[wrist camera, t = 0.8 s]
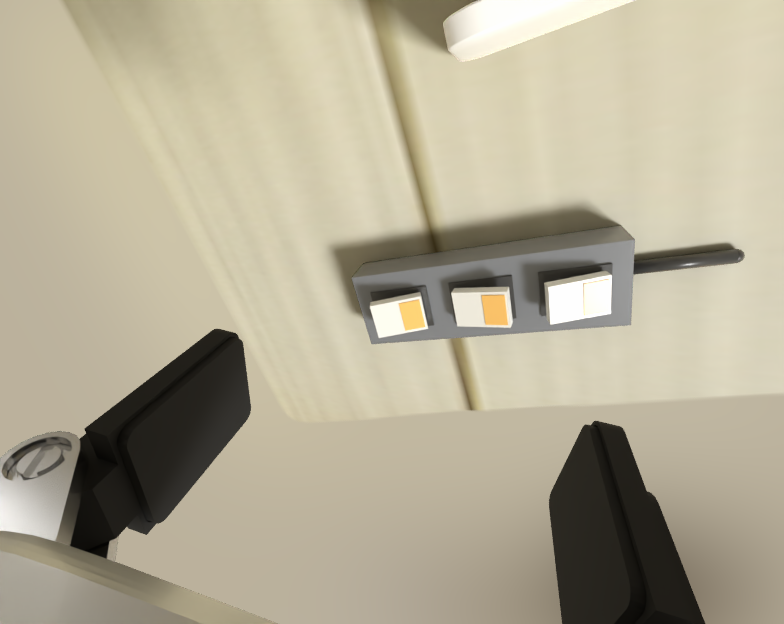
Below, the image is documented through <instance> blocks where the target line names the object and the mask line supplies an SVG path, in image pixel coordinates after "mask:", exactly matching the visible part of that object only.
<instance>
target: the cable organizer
mask: <svg viewBox="0 0 784 624" xmlns="http://www.w3.org/2000/svg"><path fill="white" fill-rule="evenodd" d="M632 1H635V0H477V1H475V2H473V3H471V4H469V5H467V6H465V7H463V8H461V9H460V10H458V11H456V12H455V13H453V14H452V15H450V16H449V17H448V18H447V19H446V20H445V21H444V22H443V28H444V33H445V38H446V43H447V48H448V51H450V52H451V53H452V54H453V55H454V56H455V57H456V58H457V59H458V60H459V61H461V62H463V61H470V60H474V59H477V58H481V57H484V56H487V55H490V54H492V53H495V52H498V51H500V50H503V49H506V48H508V47H511V46H514V45H517V44H519V43H522V42H525V41H527V40H530V39H533V38H535V37H538V36H541V35H543V34H546V33H549V32H551V31H554V30H557V29H559V28H562V27H565V26H568V25H570V24H573V23H576V22H578V21H581V20H584V19H586V18H589V17H592V16H594V15H597V14H600V13H602V12H605V11H608V10H611V9H613V8H616V7H619V6H621V5H624V4H627V3H629V2H632Z"/></svg>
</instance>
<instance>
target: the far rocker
mask: <svg viewBox="0 0 784 624" xmlns="http://www.w3.org/2000/svg"><path fill="white" fill-rule="evenodd" d="M370 309H371V313H372V316H373V320H374V323H375V326H376V330H377V333H378V337H379V338H382V337H387V336H393V335H398V334H403V333H408V332H414V331H419V330H424V329H428V324H427V320H426V315H425V311H424V306H423V302H422V297H421V293H420V292H418V293H413V294H408V295H403V296H398V297H393V298H389V299H384V300H379V301H374V302H370Z"/></svg>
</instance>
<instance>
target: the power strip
mask: <svg viewBox="0 0 784 624" xmlns="http://www.w3.org/2000/svg"><path fill="white" fill-rule="evenodd" d="M634 248H635V239H634V238H633V237H632V236H631V235H630V234H629V233H628V232H627V231H626V230H625V229H624V228H623V227H622V226H621V225H620V226H613V227H606V228H600V229H593V230H586V231H579V232H573V233H566V234H559V235H552V236H546V237H539V238H532V239H525V240H518V241H512V242H505V243H498V244H491V245H485V246H478V247H471V248H464V249H458V250H451V251H444V252H437V253H431V254H424V255H417V256H410V257H403V258H397V259H390V260H383V261H376V262H370V263H363V264H362V266H361V267H360V268H359V269H358V271H357V272H356V273H355V274H354V276H353V277H352V281H353V285H354V288H355V291H356V295H357V298H358V301H359V304H360V308H361V311H362V314H363V318H364V321H365V324H366V327H367V331H368V334H369V337H370V340H371V344H380V343H394V342H407V341H421V340H435V339H448V338H462V337H476V336H489V335H503V334H516V333H530V332H544V331H557V330H571V329H584V328H598V327H612V326H625V325H631V313H632V291H633V274H642V273H651V272H660V271H669V270H678V269H687V268H697V267H706V266H715V265H724V264H733V263H738V262H741V261H742V260H743V259H744V256H745V255H744V252H743V251H741V250H739V249H731V250H723V251H715V252H706V253H698V254H690V255H682V256H673V257H665V258H657V259H648V260H640V261H634ZM601 271H607V272H608V273H610V274H611V275H612V283H611V314H606V315H600V316H595V317H590V318H584V319H579V320H573V321H568V322H562V323H557V324H551V325H550V323H549V322H548V320H547V316H546V300H545V285H544V283H546V282H551V281H556V280H561V279H566V278H571V277H576V276H581V275H586V274H591V273H596V272H601ZM478 287H509V292H510V301H511V310H512V320H513V323H512V326H511V328H501V327H463V326H457V322H456V316H455V311H454V305H453V300H452V295H451V292H452V291H453V289H454V288H478ZM418 292H420V293H421V297H422V302H423V306H424V311H425V315H426V320H427V324H428V329H424V330H419V331H414V332H408V333H403V334H398V335H393V336H387V337H382V338H379V337H378V333H377V330H376V326H375V323H374V320H373V316H372V313H371V309H370V302H374V301H379V300H384V299H389V298H393V297H398V296H403V295H408V294H413V293H418Z"/></svg>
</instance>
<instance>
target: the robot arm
mask: <svg viewBox="0 0 784 624" xmlns="http://www.w3.org/2000/svg"><path fill="white" fill-rule="evenodd" d="M250 411H251V404H250V396H249V389H248V380H247V372H246V364H245V357H244V348H243V342H242V341H241V340H240V339H239V337H238V335H237V334H236V333H233V332H229V331H225V330H221V329H214V330H212V331H211V332H210V333H209V334H207V335H206V336H204V337H203V338H202V339H201V340H199V341H198V342H197V343H195V344H194V345H193V346H192V347H190V348H189V349H188V350H186V351H185V352H184V353H182V354H181V355H180V356H178V357H177V358H176V359H175V360H173V361H172V362H171V363H169V364H168V365H167V366H165V367H164V368H163V369H162V370H160V371H159V372H158V373H156V374H155V375H154V376H153V377H151V378H150V379H149V380H147V381H146V382H145V383H143V384H142V385H141V386H139V387H138V388H137V389H136V390H134V391H133V392H132V393H130V394H129V395H128V396H126V397H125V398H124V399H123V400H121V401H120V402H119V403H117V404H116V405H115V406H114V407H112V408H111V409H110V410H108V411H107V412H106V413H104V414H103V415H102V416H100V417H99V418H98V419H97V420H95V421H94V422H93V423H91V424H90V425H89V426H87V427H86V428H85V431H86V434H85V435H84V436H83V437H81V438H80V439H79V438H78V437H77V436H76V435H75V434H72V433H70V432H62V431H57V432H50V433H45V434H42V435H38V436H35V437H32V438H30V439H28V440H26V441H24V442H21V443H20V444H18V445H17V446H15V447H14V448H12V449H10V450H9V451H8V452H7V453H5V454H4V455H3V456H2V457H1V458H0V624H277V623H275V622H272V621H270V620H267V619H265V618H262V617H259V616H257V615H254V614H252V613H249V612H246V611H244V610H241V609H239V608H236V607H233V606H231V605H228V604H226V603H223V602H220V601H217V600H215V599H212V598H210V597H207V596H204V595H202V594H199V593H196V592H194V591H191V590H188V589H186V588H183V587H181V586H178V585H175V584H173V583H170V582H167V581H165V580H162V579H159V578H157V577H154V576H151V575H149V574H146V573H144V572H141V571H138V570H136V569H133V568H130V567H128V566H125V565H122V564H120V563H117V562H115V559H116V551H117V544H118V536H119V534H121V532H122V531H123V530H124V529H125V528H126V527H128V528H129V529H132V530H135V531H138V532H140V533H143V534H146V535H147V534H148V533H149V531H150V530H151V529H152V528H153V527H154V526H155V524H156V523H161V522H162V521H164V520H165V519H166V518H167V517H168V515H169V514H170V513H171V512H172V510H174V508H175V507H176V506H177V505H178V503H179V502H180V501H181V500H182V498H183V497H184V496H185V495H186V494H187V492H188V491H189V490H190V489H191V487H192V486H193V485H194V484H195V483H196V481H197V480H198V479H199V478H200V476H201V475H202V474H203V473H204V472H205V470H206V469H207V468H208V467H209V466H210V464H211V463H212V462H213V460H214V459H215V458H216V457H217V455H219V453H220V452H221V451H222V450H223V448H224V447H225V446H226V445H227V443H228V442H229V441H230V440H231V439H232V438H233V436H234V435H235V434H236V433H237V431H238V430H239V429H240V427H242V425H243V424H244V423H245V422H246V420H247V419H248V417H249V415H250ZM549 509H550V517H551V518H550V519H551V527H552V536H553V545H554V554H555V563H556V572H557V580H558V590H559V598H560V607H561V617H562V624H705V622H704V619H703V617H702V614H701V612H700V609H699V606H698V604H697V601H696V599H695V596H694V594H693V591H692V589H691V586H690V584H689V581H688V578H687V576H686V574H685V571H684V568H683V565H682V563H681V560H680V557H679V555H678V552H677V550H676V547H675V545H674V542H673V539H672V537H671V534H670V532H669V529H668V527H667V524H666V522H665V519H664V516H663V514H662V511H661V509H660V506H659V504H658V502H657V500H656V498H655V497H654V496H653V495H652V494H651V493H650V492H647V491H646V488H645V486H644V483H643V480H642V477H641V475H640V472H639V469H638V467H637V464H636V461H635V459H634V456H633V453H632V450H631V448H630V445H629V442H628V439H627V437H626V434H625V432H624V430H623V428H622V427H620V426H616V425H612V424H607V423H603V422H599V421H594V422H593V423H592V425H591V426H590V425H584V426H583V428H582V430H581V432H580V434H579V436H578V438H577V440H576V442H575V444H574V446H573V448H572V450H571V452H570V454H569V456H568V459H567V460H566V463H565V465H564V467H563V469H562V471H561V473H560V475H559V477H558V479H557V481H556V483H555V485H554V487H553V489H552V491H551V494H550V499H549Z"/></svg>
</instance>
